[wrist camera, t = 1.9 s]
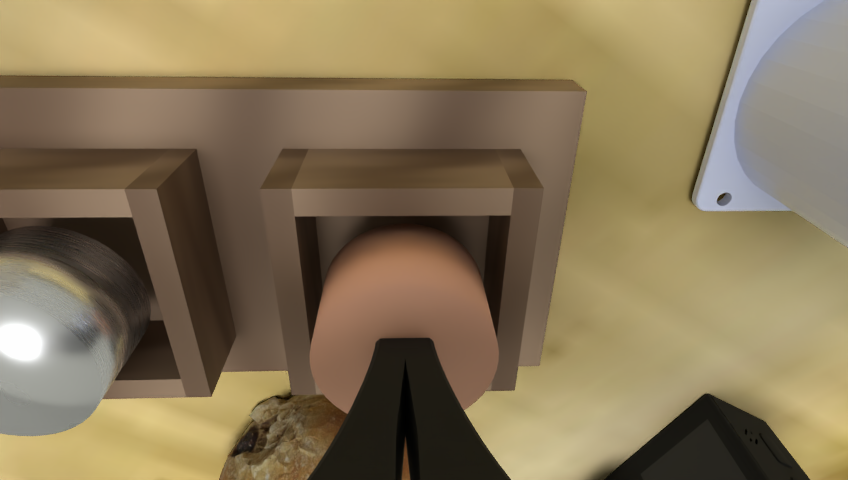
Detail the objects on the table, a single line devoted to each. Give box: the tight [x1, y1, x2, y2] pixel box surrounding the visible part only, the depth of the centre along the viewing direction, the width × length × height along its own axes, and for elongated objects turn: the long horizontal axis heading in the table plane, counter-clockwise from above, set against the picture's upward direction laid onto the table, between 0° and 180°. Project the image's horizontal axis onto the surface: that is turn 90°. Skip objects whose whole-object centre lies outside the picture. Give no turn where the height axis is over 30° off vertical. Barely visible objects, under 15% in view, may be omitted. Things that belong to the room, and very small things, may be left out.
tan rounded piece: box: [310, 224, 499, 414], centre depth 14 cm, size 5×5×3 cm
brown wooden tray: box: [0, 76, 587, 399], centre depth 17 cm, size 21×11×4 cm, turn 89°
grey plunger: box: [0, 226, 151, 436], centre depth 14 cm, size 5×5×3 cm
